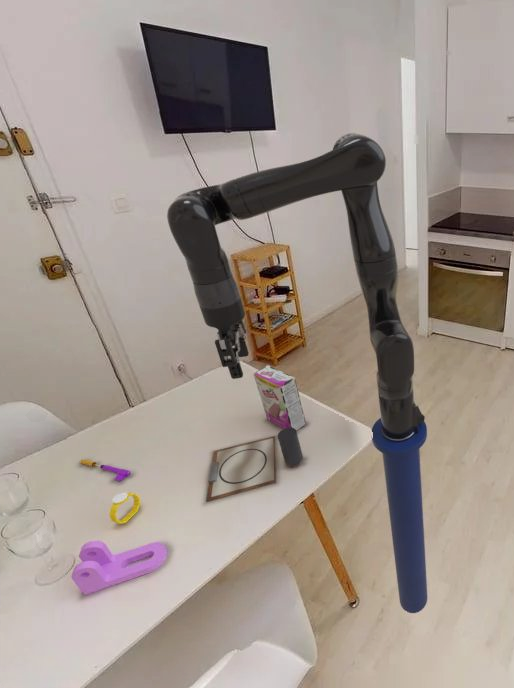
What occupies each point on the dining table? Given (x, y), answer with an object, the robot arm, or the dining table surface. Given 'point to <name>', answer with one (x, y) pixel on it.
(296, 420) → the candy bar box
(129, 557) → the bracket
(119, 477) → the purple pen tool
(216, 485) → the clipboard
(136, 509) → the watch
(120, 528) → the dining table surface
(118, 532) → the dining table surface
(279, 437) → the dark gray cylinder
